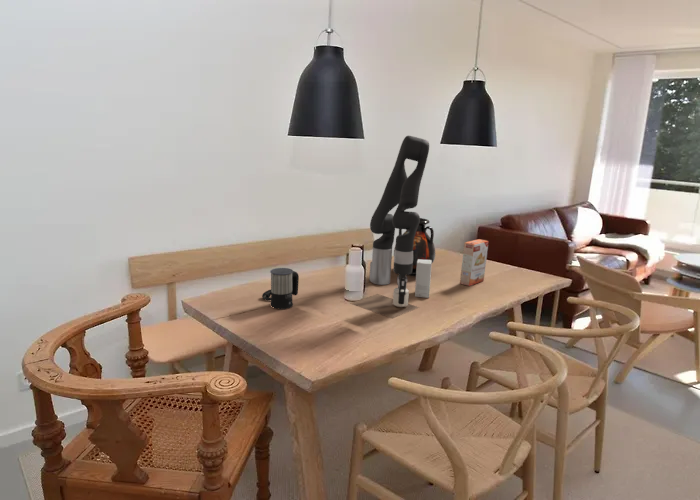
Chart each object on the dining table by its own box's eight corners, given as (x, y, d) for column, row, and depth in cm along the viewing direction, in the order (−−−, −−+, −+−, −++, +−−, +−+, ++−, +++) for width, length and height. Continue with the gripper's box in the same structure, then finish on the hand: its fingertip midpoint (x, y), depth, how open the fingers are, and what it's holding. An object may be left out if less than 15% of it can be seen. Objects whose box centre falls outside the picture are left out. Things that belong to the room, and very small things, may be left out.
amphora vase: (385, 273, 245) (388, 219, 239) (403, 264, 263) (406, 214, 257) (423, 280, 235) (428, 225, 228) (440, 271, 252) (444, 219, 246)
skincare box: (428, 298, 209) (431, 264, 206) (413, 296, 210) (416, 262, 207) (429, 292, 217) (432, 259, 214) (415, 291, 218) (417, 258, 215)
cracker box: (470, 286, 228) (474, 244, 223) (459, 283, 232) (463, 242, 227) (484, 281, 238) (489, 240, 233) (474, 278, 242) (478, 238, 237)
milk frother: (287, 311, 188) (287, 275, 184) (251, 305, 192) (250, 270, 188) (301, 300, 201) (301, 266, 197) (267, 295, 205) (267, 262, 202)
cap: (390, 303, 193) (390, 289, 192) (398, 300, 198) (399, 286, 196) (402, 307, 189) (402, 293, 188) (410, 304, 194) (411, 290, 192)
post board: (349, 306, 195) (350, 289, 193) (377, 297, 208) (378, 280, 206) (392, 322, 181) (393, 303, 179) (419, 310, 194) (420, 293, 192)
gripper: (414, 266, 182) (411, 307, 186) (411, 257, 196) (409, 295, 200) (394, 265, 182) (391, 306, 186) (393, 256, 196) (391, 294, 200)
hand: (400, 300), depth 193 cm, fingers open, 6 cm apart
